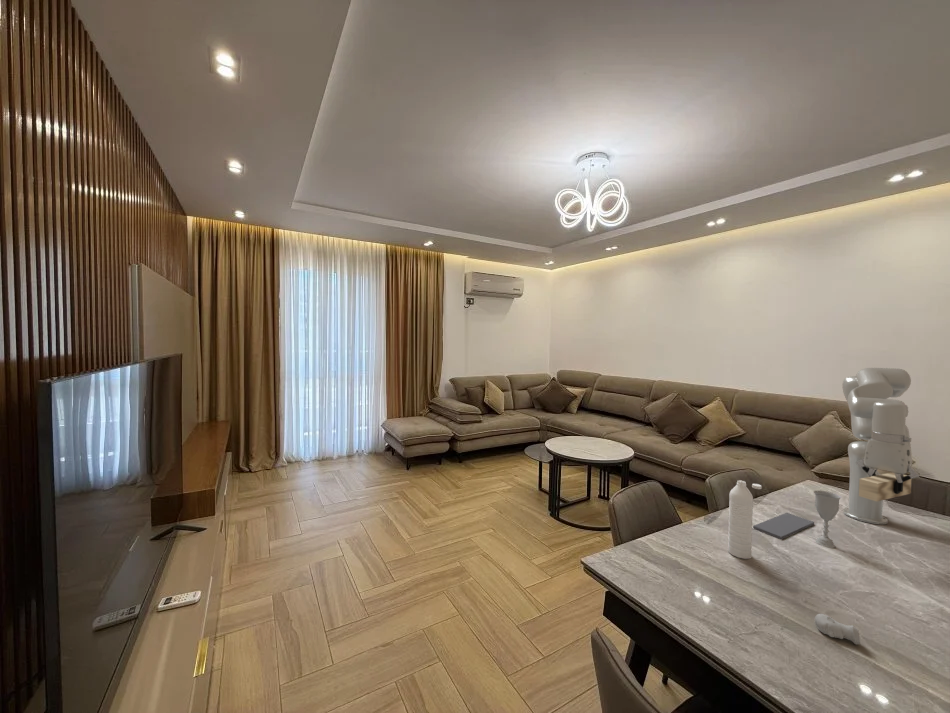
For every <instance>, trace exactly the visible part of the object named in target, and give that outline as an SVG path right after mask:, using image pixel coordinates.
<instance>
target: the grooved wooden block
mask: <svg viewBox="0 0 950 713" xmlns="http://www.w3.org/2000/svg"><path fill="white" fill-rule="evenodd" d="M880 474H881V475H876V476H871V477H866V478H861V479H859V496H860V497H864V498H867V499H870V500H874V501H881V500H883V501H885V500H889V499H893V498H897V497H902V496H907V495H910V494H912V479H909V480H907V481H904V482H903V491H902V492H900V493H899V494H895V493H894V484H895V482H896V480H897V479H896V476H895V474H894V473H893V472H887V473H880ZM903 475H904V476H907V474H903Z"/></svg>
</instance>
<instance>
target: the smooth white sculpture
mask: <svg viewBox="0 0 950 713" xmlns="http://www.w3.org/2000/svg"><path fill="white" fill-rule="evenodd" d="M814 624H815V626H816V627H817V629H818V630H819V631H820V632H821V633H822V634H824V635H827V636H829V637H830V638H836V639H837V638H838V639H840V640H844V638H845V639H848V640H850V641H851V642H852V643H853V644H854V645H860V644H861V639H860V632H859V629H858V628H857V627H856V626H854V624H853V625H847V624H844V623H841V622H839V621H837V620H835V619H834V618H832V617H831V616H828V615H827V614H824V613H817V614H816V615H815V617H814Z"/></svg>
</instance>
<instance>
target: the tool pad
mask: <svg viewBox="0 0 950 713" xmlns="http://www.w3.org/2000/svg"><path fill="white" fill-rule="evenodd" d="M814 525H815V521H813V520H811V519H807V518H804V517H802V516H798V515H795V514H792V513H790V512H785V513H783V514H780V515H777V516H774V517H772V518H769V519H767V520H765V521H762V522H759V523H757V524H755V525H752V529H753V528H754V530H756V531H758V530H759V531H758V532H761V533H764V534H765V535H766V534H767V535H768V536H771V537H774V538H776V539H779V540H783V539H786V538H788V537H790V536H792V535H795V534H797V533H799V532H800V531H801V532H802V531H804V530H806V529H808V528H810V527H812V526H814Z"/></svg>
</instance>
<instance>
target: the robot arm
mask: <svg viewBox="0 0 950 713" xmlns="http://www.w3.org/2000/svg"><path fill="white" fill-rule="evenodd" d="M911 382H912V378H911V375H910V373H909V372H908V371H907V370H905V369H902V368H890V367H889V368H888V367H865V368H862V369H860V370H859V371H858V372H857V373H856V375H853V376H851V375H850V376H847V377H845V378H844V379H843V380H842V385H841V386H842V393H843V396H844V398H845V400H846V402H847V405H848V409H849V410H848V411H849V413H850V423H851V425H850V426H851V432H852V434H853V436H854V437H855V438H857V439H858V440H859V441H852V442H850V443H849V444H848V446H847V454H848V461H849V484H848V485H849V489H848V507H846V508H843V510H842V513H843V514H844V515H846V517H849V518H852V519H854V520H856V521H860V522H863V523H868V524H873V525H886V524H888V523H889V522H888V519H887V518H886V517H885V516H883V505H884V504H883V503H884V500H881V501H874V500H870V499H867V498H864V497H860V496H859V479H861V478H866V477H871V476H876V475H881V474H882V473H880V472H879V471H878V470H880V471H885V472H887V473H891V472H893V473H894V474H895V476H896V479H897V480H896V482H895V484H894V493H895V494H899V493H900V492H902V491H903V482H904V481H907V480H909V479H911V480H912V479H916V478H919V477H920V473H918V472H917V471H916V470H915V469H914V468H913V456H912V454H913V453H912V446H911V445H912V444H911V442H912V438H911V437H910V436H911V435H910V432H909V427H908V426H907V424H906V418H907V417H908V415H909V407H908V405H907V404H905V402H904V401H902V400H898V399H893V398H899V397H901V396H902V395H903V394H904V393H905V392H907V391H908V390H909V388H910V386H911V384H912V383H911ZM890 398H892V399H890ZM860 440H861V441H860ZM862 440H864V441H862ZM907 473H909V474H908V475H907ZM904 475H907V476H904Z"/></svg>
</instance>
